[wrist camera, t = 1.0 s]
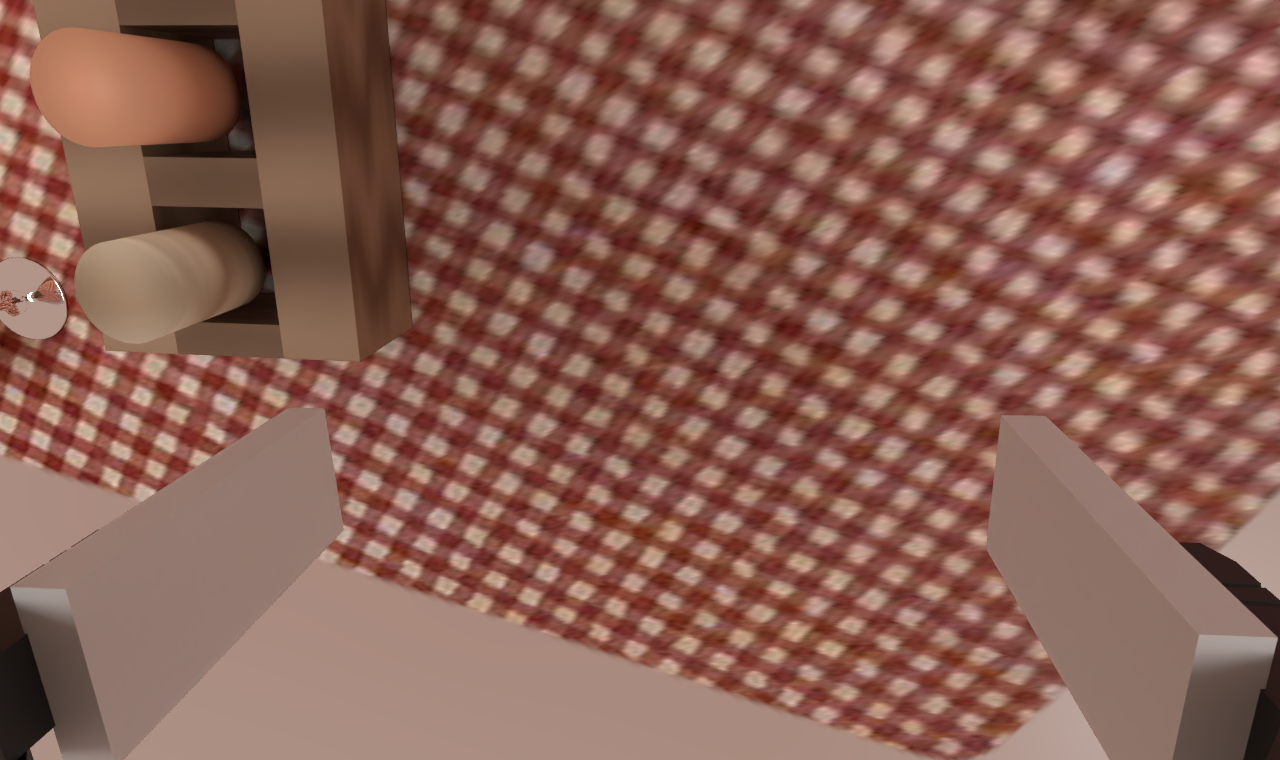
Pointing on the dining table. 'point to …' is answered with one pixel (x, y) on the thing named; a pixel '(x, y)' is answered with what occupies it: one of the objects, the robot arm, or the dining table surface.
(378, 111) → the walnut socket block
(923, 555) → the dining table surface
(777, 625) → the dining table surface
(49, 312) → the wineglass
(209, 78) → the rust plug
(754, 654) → the dining table surface
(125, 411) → the dining table surface
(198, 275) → the beech plug
